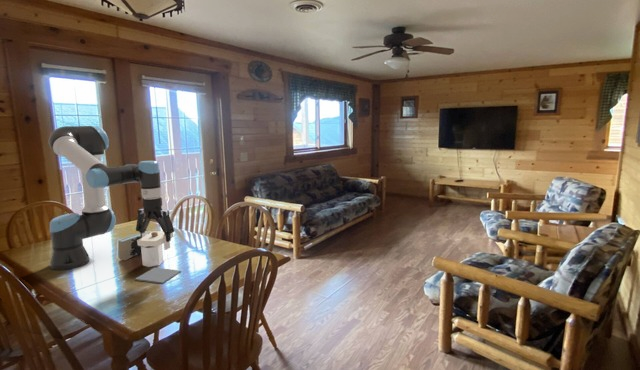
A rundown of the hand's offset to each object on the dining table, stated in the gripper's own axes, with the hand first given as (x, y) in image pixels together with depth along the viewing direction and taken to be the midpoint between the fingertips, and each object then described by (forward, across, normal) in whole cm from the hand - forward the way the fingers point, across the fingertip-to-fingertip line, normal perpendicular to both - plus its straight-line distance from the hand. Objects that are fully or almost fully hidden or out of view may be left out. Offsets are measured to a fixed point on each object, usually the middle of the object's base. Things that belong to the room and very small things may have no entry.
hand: (156, 247), depth 150 cm
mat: (+13, 0, 0) cm, 13 cm away
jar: (+13, -12, +11) cm, 21 cm away
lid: (-3, 0, 0) cm, 3 cm away
